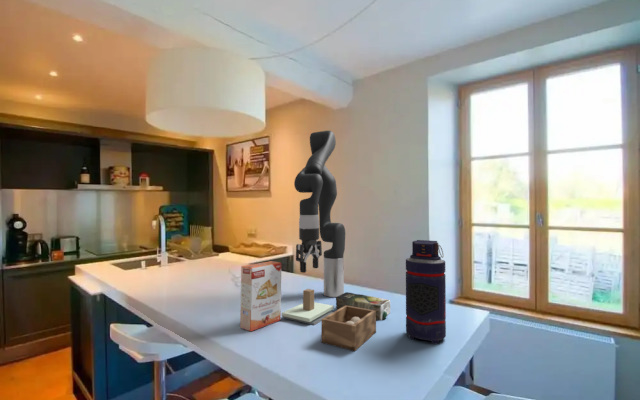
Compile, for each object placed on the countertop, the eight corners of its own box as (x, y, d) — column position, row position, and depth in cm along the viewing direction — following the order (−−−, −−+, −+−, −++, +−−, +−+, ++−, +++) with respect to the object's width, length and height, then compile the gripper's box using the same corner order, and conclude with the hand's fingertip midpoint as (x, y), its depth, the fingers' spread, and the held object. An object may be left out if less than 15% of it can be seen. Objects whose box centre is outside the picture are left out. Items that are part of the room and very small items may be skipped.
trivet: (303, 307, 130) (303, 306, 130) (334, 313, 123) (334, 312, 123) (282, 317, 118) (282, 316, 118) (314, 325, 111) (314, 323, 111)
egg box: (345, 325, 110) (345, 305, 110) (375, 332, 105) (375, 310, 105) (321, 342, 97) (321, 319, 97) (354, 351, 91) (354, 326, 91)
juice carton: (393, 313, 124) (393, 297, 124) (384, 321, 115) (383, 304, 115) (346, 305, 134) (346, 291, 134) (335, 312, 126) (334, 296, 126)
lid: (307, 305, 131) (307, 283, 131) (333, 310, 125) (333, 287, 125) (281, 317, 117) (282, 293, 117) (309, 323, 110) (309, 298, 111)
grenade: (442, 347, 93) (442, 243, 94) (401, 339, 99) (401, 241, 100) (449, 331, 105) (448, 239, 106) (412, 325, 111) (412, 238, 112)
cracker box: (251, 332, 104) (251, 267, 105) (239, 328, 108) (240, 265, 108) (282, 320, 115) (282, 262, 116) (270, 317, 119) (270, 260, 119)
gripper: (310, 225, 129) (311, 265, 129) (289, 228, 117) (290, 272, 117) (327, 225, 125) (327, 267, 125) (307, 228, 113) (307, 275, 113)
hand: (309, 270), depth 121 cm, fingers open, 8 cm apart
